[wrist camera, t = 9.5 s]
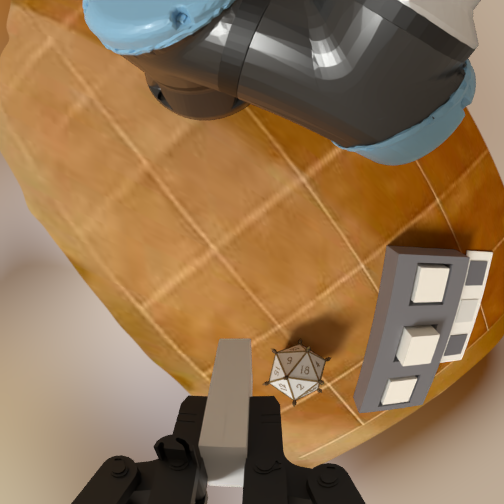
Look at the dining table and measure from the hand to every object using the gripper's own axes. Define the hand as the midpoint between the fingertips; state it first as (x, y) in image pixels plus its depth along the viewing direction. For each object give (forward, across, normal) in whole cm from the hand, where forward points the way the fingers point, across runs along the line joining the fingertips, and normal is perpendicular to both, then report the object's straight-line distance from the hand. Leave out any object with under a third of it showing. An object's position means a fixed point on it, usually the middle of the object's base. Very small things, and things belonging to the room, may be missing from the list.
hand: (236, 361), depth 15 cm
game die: (+25, +6, -18) cm, 31 cm away
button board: (+25, +23, -15) cm, 37 cm away
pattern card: (+25, +35, -13) cm, 45 cm away
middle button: (+22, +23, -15) cm, 35 cm away
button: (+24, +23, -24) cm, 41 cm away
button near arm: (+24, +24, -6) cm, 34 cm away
